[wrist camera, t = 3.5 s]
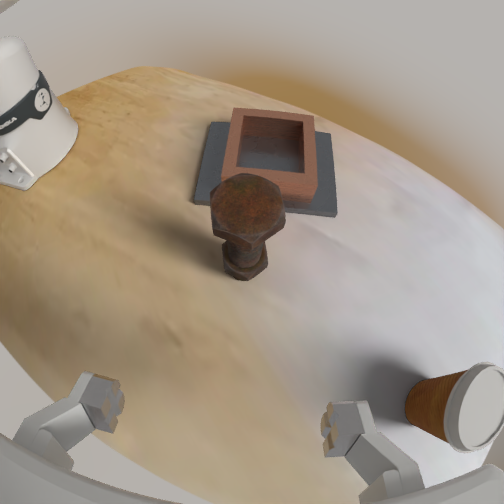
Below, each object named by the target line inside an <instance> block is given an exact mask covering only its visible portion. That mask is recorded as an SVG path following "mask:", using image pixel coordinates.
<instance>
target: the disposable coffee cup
mask: <svg viewBox="0 0 504 504" xmlns="http://www.w3.org/2000/svg"><path fill="white" fill-rule="evenodd" d="M405 413H406V417H407V419H408V421H409V422H410V423H411V424H413V425H415V426H417V427H419V428H420V429H422V430H424V431H426V432H428V433H430V434H432V435H434V436H435V437H438V438H439V439H441V440H443V441H445V442H447V443H449V444H450V445H451V446H452V447H453V449H454V450H456V451H458V452H461V453H470V452H473V451H476V450H480V449H483V448H485V447H486V446H488V445H489V444H490V443H491V442H492V441H493V440H494V439H495V438H496V437H497V436H498V434H499V433H500V431H501V430H502V428H503V426H504V370H503V369H502V368H500V367H498V366H496V365H494V364H493V363H490V362H482V363H478V364H476V365H474V366H473V367H471V368H470V369H469V370H465V371H462V372H458V373H454V374H449V375H445V376H442V377H437V378H433V379H428V380H423V381H421V382H419V383H418V384H416V385H415V386H414V387H413V388H412V390H411V391H410V393H409V395H408V397H407V400H406V404H405Z"/></svg>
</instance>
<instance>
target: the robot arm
mask: <svg viewBox="0 0 504 504" xmlns="http://www.w3.org/2000/svg"><path fill="white" fill-rule="evenodd" d="M17 1H19V0H0V14H1V13H2V12H4V11H5V10H6V9H8V8H9V7H11V6H12V5H14V4H15V3H16V2H17ZM77 134H78V125H77V123H76V121H75V120H74V119H73V118H72V117H71V116H70V111H69V110H68V109H67V108H66V107H65V108H64V107H63V106H62V104H61V103H60V101H59V100H58V99H57V97H56V96H55V94H54V93H53V92H52V90H51V89H50V88H49V85H48V83H47V81H46V78H45V76H44V75H43V74H42V72H41V71H40V70H38V69H37V68H36V65H35V63H34V61H33V59H32V57H31V55H30V53H29V51H28V48H27V46H26V44H25V42H24V41H23V40H22V39H20V38H19V37H16V36H8V37H3V38H0V184H3V185H7V186H10V187H14V188H17V189H21V190H27V189H29V188H30V187H31V186H32V185H33V184H34V183H35V182H36V180H37V179H38V178H39V177H41V176H42V175H44V174H45V173H47V172H48V171H50V170H51V169H52V168H53V167H55V166H56V165H57V164H58V163H59V162H60V161H61V160H62V159H63V158H64V157H65V156H66V154H67V153H68V152H69V150H70V149H71V147H72V146H73V144H74V142H75V140H76V137H77ZM119 388H120V383H119V380H116V379H112V378H109V377H105V376H102V375H98V374H95V373H91V372H88V371H84V372H83V373H82V374H81V375H80V377H79V379H78V380H77V382H76V384H75V386H74V387H73V389H72V391H71V393H70V394H69V396H68V398H65V397H64V398H62V399H61V400H59V401H57V402H55V403H53V404H51V405H50V406H48V407H46V408H44V409H42V410H40V411H38V412H37V413H35V414H33V415H31V416H29V417H27V418H25V419H24V421H23V423H22V424H21V426H20V428H19V429H18V431H17V433H16V435H15V437H14V438H13V440H10V439H9V438H7V437H6V436H4V435H2V434H1V433H0V504H181V503H175V502H170V501H165V500H161V499H156V498H152V497H148V496H144V495H140V494H137V493H133V492H129V491H126V490H123V489H119V488H116V487H113V486H110V485H107V484H104V483H101V482H99V481H96V480H93V479H90V478H88V477H85V476H82V475H80V474H78V473H75V472H73V471H71V470H72V467H73V464H74V461H73V459H72V458H71V457H70V456H69V455H68V453H67V451H68V450H69V449H71V448H72V447H73V446H75V445H76V444H77V443H79V442H80V441H81V440H83V439H84V438H85V437H86V436H88V435H89V434H90V433H92V432H93V431H94V430H95V429H99V430H102V431H105V432H109V433H114V431H115V428H116V426H117V423H118V419H117V417H116V416H118V415H119V414H121V413H122V410H123V408H124V401H125V400H124V394H123V392H122V391H121V390H120V389H119ZM321 435H322V436H323V437H324V438H325V441H324V442H323V449H324V456H325V457H341V456H345V458H346V459H347V461H348V462H349V463H350V464H351V465H352V467H353V468H354V469H355V470H356V471H357V472H358V474H359V475H360V476H361V477H362V478H363V479H364V480H365V482H366V483H367V484H368V485H369V486H368V487H367V488H366V489H365V490H364V491H363V492H362V493H361V494H360V495H359V501H360V504H504V471H503V470H501V469H500V468H498V467H496V466H494V465H492V464H488V465H484V466H482V467H480V468H478V469H475V470H473V471H471V472H469V473H466V474H464V475H461V476H459V477H457V478H454V479H451V480H449V481H446V482H443V483H441V484H438V485H435V486H432V487H429V488H426V489H425V487H424V484H423V480H422V477H421V474H420V470H419V467H418V464H417V463H416V462H415V461H414V460H413V459H411V458H410V457H409V456H408V455H407V454H405V453H404V452H403V451H402V450H401V449H399V448H398V447H397V446H396V445H395V444H394V443H392V442H391V441H390V440H389V439H388V438H387V437H385V436H384V435H383V434H382V433H381V432H377V430H376V427H375V424H374V420H373V417H372V414H371V410H370V407H369V404H368V402H367V401H366V400H363V401H343V402H330V403H329V404H328V405H327V412H326V413H324V414H323V417H322V419H321Z"/></svg>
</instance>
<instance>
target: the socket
mask: <svg viewBox="0 0 504 504" xmlns="http://www.w3.org/2000/svg"><path fill="white" fill-rule="evenodd" d="M240 173H249V174H255V175H258V176H261V177H263V178H266V179H268V180H270V181H272V182H273V183H275V184H276V185H278V186H279V188H280V191H281V195H282V199H283V204H284V210H285V212H289V213H298V214H308V215H317V216H325V217H334V218H335V217H336V215H337V198H336V184H335V172H334V161H333V151H332V142H331V134H330V133H323V132H317V131H315V128H314V116H311V115H304V114H296V113H288V112H279V111H270V110H259V109H246V108H234V109H233V114H232V119H231V123H227V122H211V126H210V130H209V134H208V138H207V142H206V147H205V151H204V155H203V160H202V164H201V169H200V173H199V178H198V183H197V187H196V192H195V197H194V202H195V205H208V206H210V192H211V191H212V190H213V189H214V188H215V187H216V186H217V185H219V184H220V183H221V182H222V181H224V180H226V179H228V178H229V177H231V176H234V175H237V174H240Z"/></svg>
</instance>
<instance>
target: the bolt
mask: <svg viewBox="0 0 504 504" xmlns="http://www.w3.org/2000/svg"><path fill="white" fill-rule="evenodd" d="M210 208H211V220H212V229H213V234H214V235H215V236H218V237H220V238H222V239H225V240H227V241H226V242H225V243H224V244H222V251H223V261H224V269H225V272H226V273H228V274H230V275H232V276H233V277H234V278H235V279H236V280H241V281H249V280H250V279H252V278H254V277H255V276H256V275H258V274H259V273H260V272H262V271H263V270H264V269H265V268H266V267H267V265H268V258H267V251H266V245H265V241H266V240H267V239H268V238H270V237H271V236H273V235H274V234H276V233H277V232H278V231H280V230H281V229H283V228H284V225H285V222H286V219H285V210H284V204H283V199H282V195H281V191H280V188H279V186H278V185H276V184H275V183H273V182H272V181H270V180H268V179H266V178H263V177H261V176H258V175H255V174H249V173H240V174H237V175H234V176H231V177H229V178H228V179H226V180H224V181H222V182H221V183H220V184H219V185H217V186H216V187H215V188H214V189H213V190H212V191H211V192H210Z"/></svg>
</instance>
